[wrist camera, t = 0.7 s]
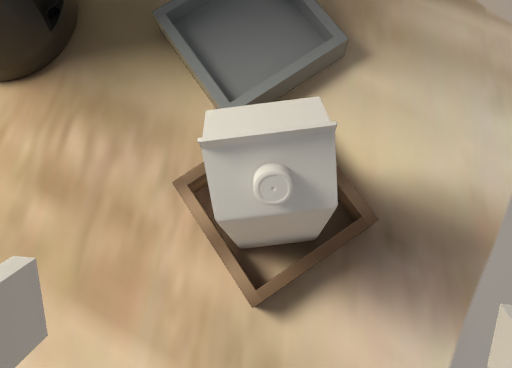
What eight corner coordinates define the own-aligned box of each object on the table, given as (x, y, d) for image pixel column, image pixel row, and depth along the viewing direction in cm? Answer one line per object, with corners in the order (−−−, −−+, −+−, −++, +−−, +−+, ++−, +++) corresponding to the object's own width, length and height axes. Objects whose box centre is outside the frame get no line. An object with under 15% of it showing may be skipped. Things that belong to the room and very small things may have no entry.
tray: (160, 30, 45) (152, 12, 42) (267, -35, 46) (266, -57, 44) (230, 129, 42) (226, 116, 39) (343, 55, 43) (348, 38, 40)
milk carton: (232, 176, 40) (192, 77, 22) (305, 167, 40) (326, 60, 22) (239, 249, 39) (202, 208, 20) (316, 240, 38) (349, 191, 20)
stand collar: (179, 190, 40) (171, 182, 37) (290, 118, 42) (290, 105, 39) (254, 306, 37) (252, 308, 34) (371, 225, 38) (378, 219, 36)
